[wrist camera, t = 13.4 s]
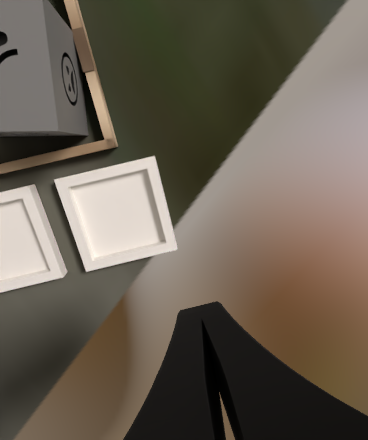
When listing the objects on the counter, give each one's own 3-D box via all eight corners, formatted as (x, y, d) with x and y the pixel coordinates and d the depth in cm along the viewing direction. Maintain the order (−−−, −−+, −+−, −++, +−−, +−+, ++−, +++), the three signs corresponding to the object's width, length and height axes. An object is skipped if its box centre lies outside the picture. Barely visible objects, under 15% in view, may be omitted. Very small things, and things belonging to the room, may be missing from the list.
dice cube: (79, 40, 15) (41, -9, 10) (88, 135, 17) (58, 130, 12) (-16, 39, 15) (-101, -12, 10) (1, 136, 16) (-68, 132, 11)
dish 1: (67, 271, 18) (63, 277, 18) (-22, 293, 18) (-30, 299, 18) (34, 183, 17) (28, 185, 16) (-63, 207, 17) (-74, 209, 16)
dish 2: (177, 245, 19) (177, 249, 18) (89, 266, 19) (86, 271, 18) (154, 155, 17) (154, 156, 16) (58, 178, 17) (53, 179, 16)
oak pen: (119, 146, 17) (116, 146, 16) (-13, 177, 17) (-25, 179, 16) (63, -53, 14) (55, -69, 13) (-94, -18, 14) (-115, -32, 13)
